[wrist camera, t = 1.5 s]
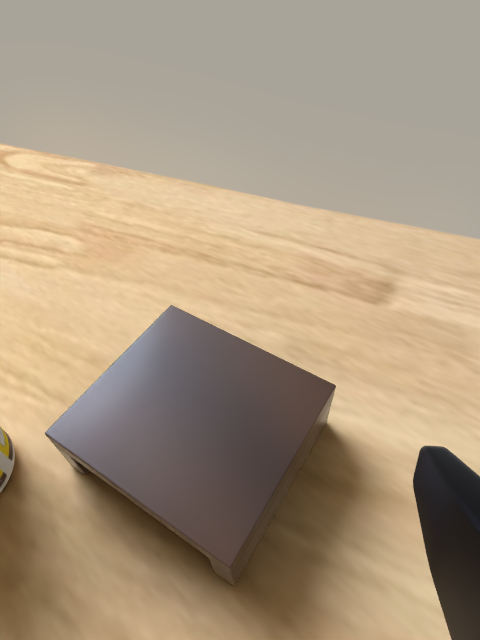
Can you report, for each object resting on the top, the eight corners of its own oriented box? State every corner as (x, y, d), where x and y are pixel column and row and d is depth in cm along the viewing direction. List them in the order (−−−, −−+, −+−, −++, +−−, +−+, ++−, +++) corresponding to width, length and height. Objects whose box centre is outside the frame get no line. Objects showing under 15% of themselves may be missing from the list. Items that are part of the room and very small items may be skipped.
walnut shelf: (234, 586, 20) (229, 568, 17) (70, 464, 24) (44, 432, 21) (327, 421, 26) (336, 385, 23) (179, 343, 30) (171, 304, 27)
